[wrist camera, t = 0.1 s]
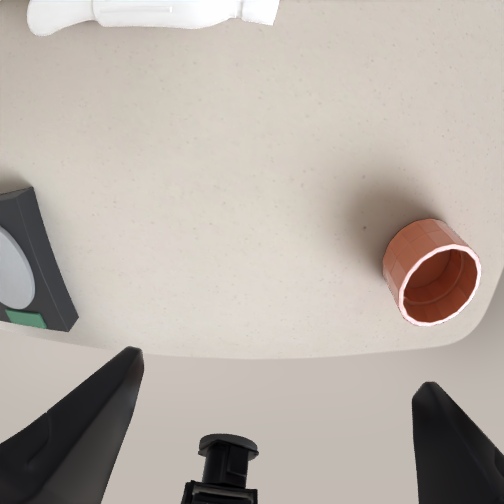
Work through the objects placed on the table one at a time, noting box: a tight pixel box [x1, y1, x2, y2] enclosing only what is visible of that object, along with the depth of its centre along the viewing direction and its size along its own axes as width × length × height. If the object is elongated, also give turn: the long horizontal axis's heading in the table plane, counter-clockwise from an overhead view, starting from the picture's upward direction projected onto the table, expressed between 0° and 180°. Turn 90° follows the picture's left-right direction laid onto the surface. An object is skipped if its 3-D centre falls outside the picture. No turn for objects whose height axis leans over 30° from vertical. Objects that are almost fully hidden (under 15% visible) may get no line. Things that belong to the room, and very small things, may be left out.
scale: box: [0, 187, 79, 332], centre depth 24 cm, size 14×12×3 cm
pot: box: [383, 218, 481, 327], centre depth 20 cm, size 7×7×4 cm
